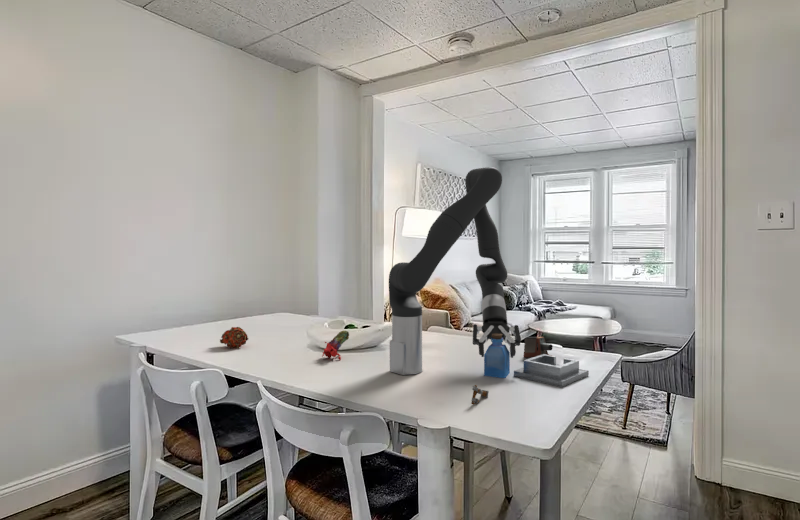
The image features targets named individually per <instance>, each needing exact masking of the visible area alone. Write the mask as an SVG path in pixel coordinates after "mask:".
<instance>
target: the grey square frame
mask: <svg viewBox="0 0 800 520" xmlns="http://www.w3.org/2000/svg"><path fill="white" fill-rule="evenodd" d="M562 362H563V364H557V356H555V355H552V356H551V354H549V355H545V354H542V355H539V356H536V357H533V358H527V359H525V360H523V367H521V368H517V369H516V370H513V376H514V377H516V378H520V379H521V378H522V379H525V380H529V381H534V382H538V383H543V384H546V385H547V384H548V385H550V386H555V387H559V388H564V387H566V386H569V385H570V384H573V383H575V382H578V381H580V380H582V379H584V378H587V377H589V376H588V375H589V370H586V369H583V368H580V360H576V359H571V358H566V357H565V358H563V361H562ZM586 376H587V377H586ZM583 377H584V378H583ZM581 378H582V379H581ZM579 379H580V380H579ZM577 380H578V381H577ZM574 381H575V382H574Z"/></svg>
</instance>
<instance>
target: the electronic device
mask: <svg viewBox="0 0 800 520" xmlns="http://www.w3.org/2000/svg"><path fill="white" fill-rule="evenodd" d="M523 345H524V347H523V358H527V359H530V358H533V357H536V356H539V355H542V354H545V355H551V354H549V353H548V351H553V344H551V343H546V340H545V337H544V336H527V337H526V336H525V337H524V344H523ZM551 356H553V355H551Z"/></svg>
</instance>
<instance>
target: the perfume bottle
mask: <svg viewBox="0 0 800 520" xmlns="http://www.w3.org/2000/svg"><path fill="white" fill-rule="evenodd" d="M502 335H503V334H499V333H493V334H492V338H491V339H490V341H491V344H490V345H489V346H488V347H487V349H486V351H485V352H484V357H483V360H484V361H483V362H484V363H483V370H484V371H483V376H484V377H492V378H500V379H506V378H507V376H509V374H510V365H511V364H510V360H511V359H510V358H511V356H510V349H508V346H507V345H506V344H504V343H503V342H504V341H503V338H502Z"/></svg>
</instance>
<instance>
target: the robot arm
mask: <svg viewBox="0 0 800 520" xmlns="http://www.w3.org/2000/svg"><path fill="white" fill-rule="evenodd" d="M464 183H465V189H466V194H465V195H463V196H462V197H461V198H459V199H458V200H457V201H455V202H453V203H452V204H451V205H449V206H448V207H447V208H445V209H444V210H443V211H442V212H441V213H440V214H439V215H438V217H437V218H436V220H435V221H433V223H432V225H431V226H430V228H429V229H428V232H427V236H426V239H425V242H424V244H423V246H422V248H421V249H420V251H419V252H418V253H417V254H416V255H415V256H414V257H413V258H412V259H411V260H410V261H409V262H402V261H401V262H398V263H396V264H394V265H393V266H392V267H391V269H390V271H389V274H388V299H389V306H390V309H391V339H390V340H389V372H391V373H395V374H397V375H398V374H399V375H401V376H406V375H415V374H416V375H417V374H421V372H423V308H422V305H421V304H420V302H419V301H418V298H417V293H418V292H420V291H421V290H422V289H424V287H425V286H426V285H427V283H428V281H430V279H431V277H432V275H433V274H434V272H435V271H436V269H437V267H438V266H439V264H440V262H441V261H442V260H443V258H445V257H446V255H447V253H448V252H449V251H450V250H451V248H452V247H453V246H454V245H455V243H456V242H457V241H458V240H459V239H460V237H461V236H462V235H463V233H464V232H465V231H466V229H467V228H468V226H469V225H470V224H471V223H472V221H474V224H475V230H476V239H477V249H478V254H479V256H480V257H481V258H483V259H485V258H486V259H491V260H493V261H494V262H492V263H482V264H479V265H478V266H477V267H476V269H475V278H476V280H477V282H478V284H479V287H480V290H481V297H482V299H481V300H482V301H481V302H482V305H481V314H482V325H481V326H478V325H477V324H476V323H475V324H473V325H472V326H473V327H472V344H473V345H474V346H475V345H477V346H478V354H479V356H481V358H484V354H485V347H484V346H485V345H484V344H486V343H487V342H488V341H489V340H491V338H492V334H493V333H499V334H503V335H502V338H503V342H504V343H506V344H507V345H508V346H509V352H510V358H511V359H513V358H514V357H515V356H516V353H517V352H516V350H517V349H516V346H517V347H519V346H521V341H522V339H521V337H522V336H521V334H520V328H519V325H518V324H515V325H514V326H509V325H508V317H507V316H508V315H507V305H506V301H505V293H504V288H503V286H502V285H501V284H503V283H505V282H506V281H507V279H508V271H507V268H506V265H505V262H504V260H503V258H502V254H501V251H500V244H499V243H500V241H499V234H498V233H499V232H498V230H497V227H496V224H495V222H494V220H493V218H492V217H491V214H490V213H489V212H490V211H489V210H488V206H487V204H488V202H490V200H492V198H494V196H495V195H496V194H498V192H499V190H500V189H501V187H502V183H503V176H502V173H501V171H500V170H499V169H497V168H496V167H493V166H491V167H490V166H486V167H480V168H479V167H478V168H474V169H471V170H469V171H468V172H467V173H466V176H465V181H464ZM480 332H482V333H483V334H482V336H481V337H480V338H478V334H479V333H480ZM510 332H511V334H512V335H514V338H512V336H511V334H510Z"/></svg>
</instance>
